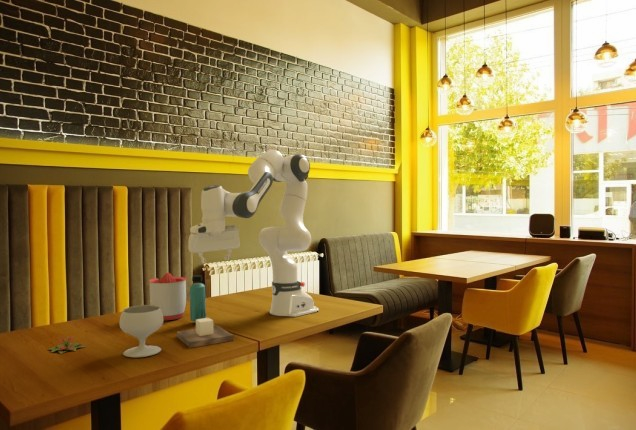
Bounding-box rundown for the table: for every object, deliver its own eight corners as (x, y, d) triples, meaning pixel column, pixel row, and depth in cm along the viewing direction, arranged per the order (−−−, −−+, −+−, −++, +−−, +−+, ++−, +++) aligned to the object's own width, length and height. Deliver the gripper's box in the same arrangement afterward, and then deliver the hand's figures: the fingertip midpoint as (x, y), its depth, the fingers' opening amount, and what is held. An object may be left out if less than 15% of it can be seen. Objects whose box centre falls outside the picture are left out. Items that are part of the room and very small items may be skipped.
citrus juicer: (179, 311, 223) (178, 268, 222) (192, 319, 209) (191, 272, 208) (144, 316, 214) (143, 271, 214) (155, 324, 200) (154, 276, 199)
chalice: (158, 343, 173) (157, 302, 173) (169, 354, 161) (168, 310, 161) (116, 350, 166) (115, 307, 165) (124, 362, 154) (123, 315, 153)
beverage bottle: (202, 325, 197) (201, 277, 197) (187, 324, 199) (186, 276, 198) (209, 321, 204) (208, 274, 203) (194, 320, 205) (193, 274, 204)
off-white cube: (208, 330, 182) (208, 317, 182) (213, 333, 178) (213, 320, 178) (195, 332, 180) (195, 319, 180) (200, 336, 176) (200, 322, 175)
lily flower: (73, 342, 177) (73, 330, 177) (92, 347, 170) (92, 335, 170) (40, 351, 167) (39, 338, 167) (58, 357, 160) (58, 344, 160)
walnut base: (217, 330, 190) (217, 325, 190) (233, 340, 177) (232, 335, 176) (177, 336, 182) (176, 331, 182) (189, 348, 168) (189, 342, 168)
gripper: (235, 224, 197) (237, 257, 198) (186, 228, 186) (187, 263, 187) (241, 225, 192) (243, 259, 193) (191, 229, 181) (193, 266, 182)
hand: (215, 261), depth 190 cm, fingers open, 8 cm apart
